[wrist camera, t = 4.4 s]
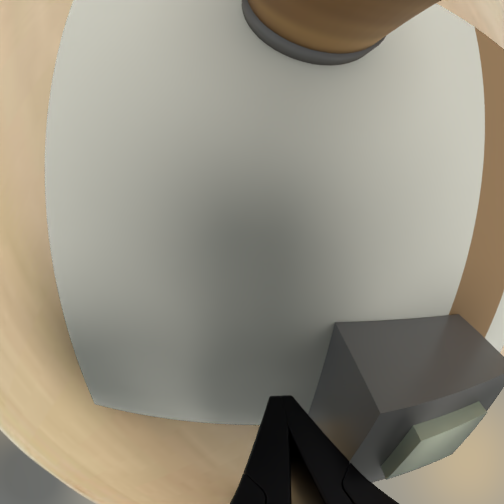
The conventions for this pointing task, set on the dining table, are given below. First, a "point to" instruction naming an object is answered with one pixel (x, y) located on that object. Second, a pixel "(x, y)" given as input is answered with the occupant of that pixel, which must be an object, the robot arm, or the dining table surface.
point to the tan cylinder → (328, 26)
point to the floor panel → (262, 199)
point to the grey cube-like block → (404, 391)
